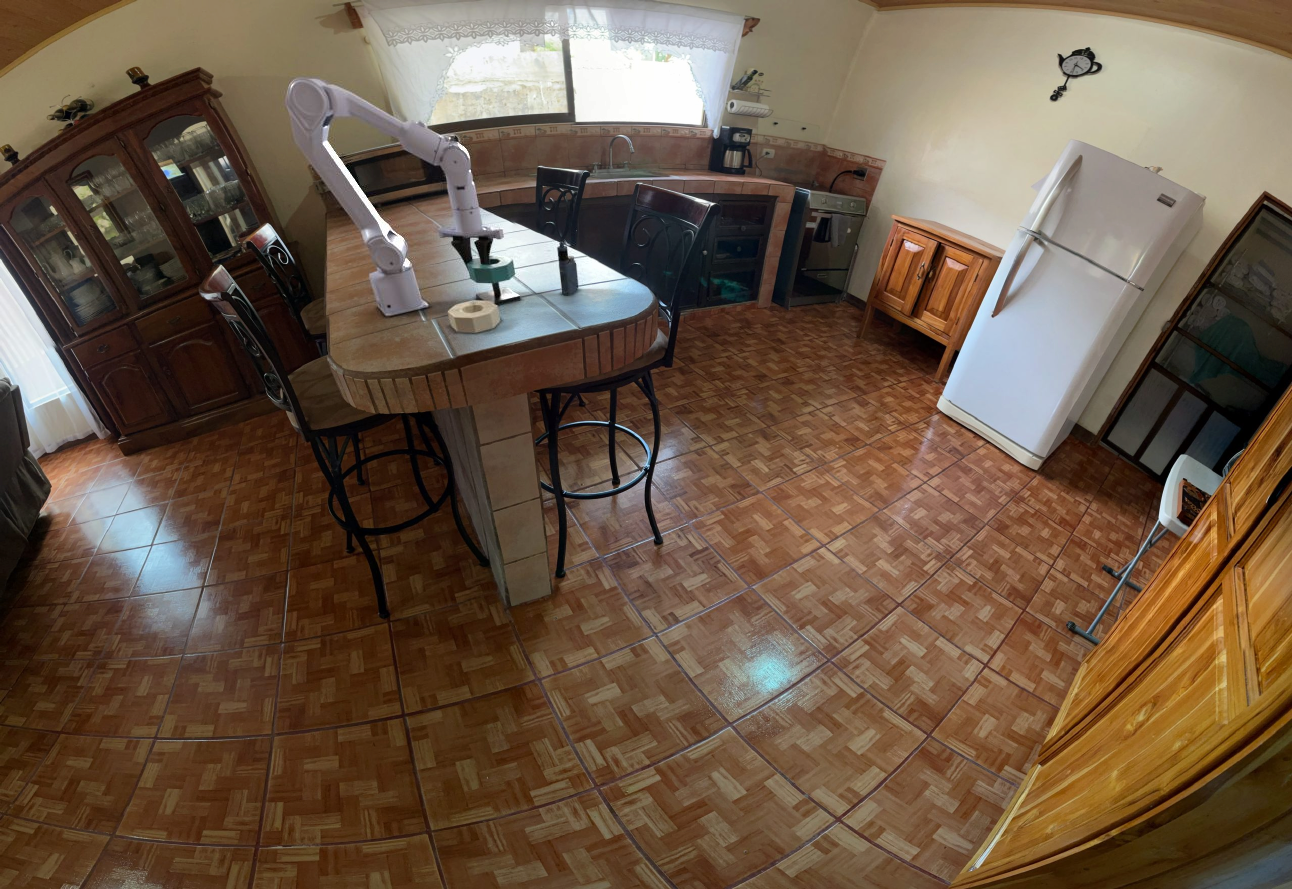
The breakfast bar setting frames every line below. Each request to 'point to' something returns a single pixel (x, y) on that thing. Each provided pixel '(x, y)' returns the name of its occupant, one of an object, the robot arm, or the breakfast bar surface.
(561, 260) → the vaping device
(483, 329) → the cream ring
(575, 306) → the breakfast bar surface
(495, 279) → the teal ring
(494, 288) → the peg stand
